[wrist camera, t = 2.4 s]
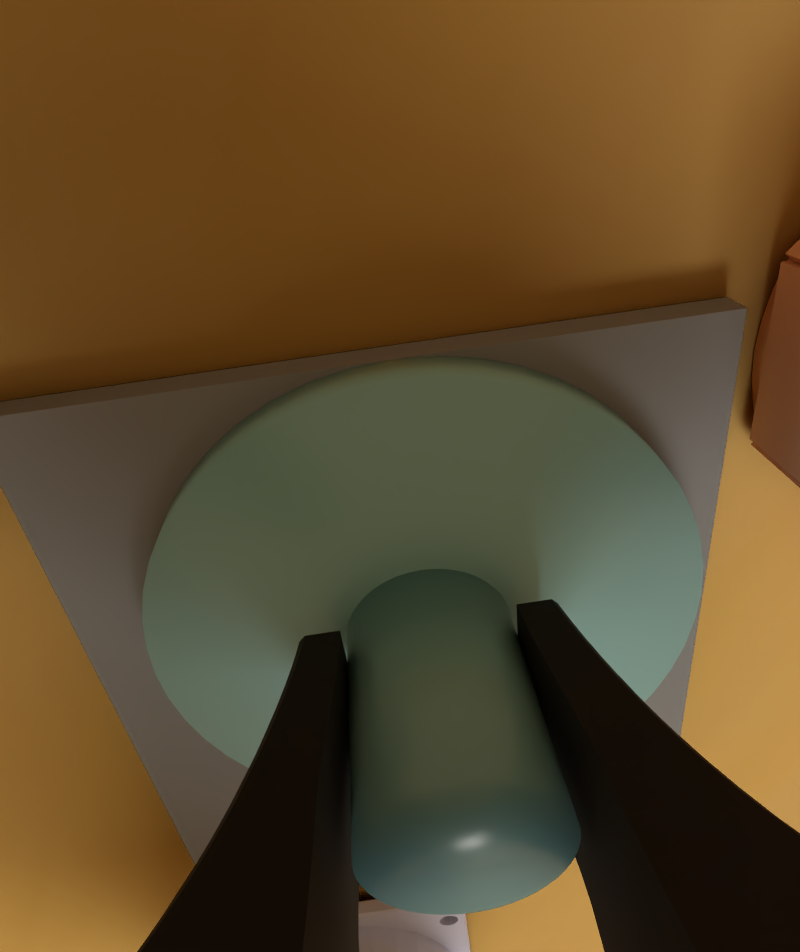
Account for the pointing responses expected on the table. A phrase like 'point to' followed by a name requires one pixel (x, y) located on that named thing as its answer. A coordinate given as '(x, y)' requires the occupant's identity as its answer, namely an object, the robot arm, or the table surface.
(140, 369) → the table surface
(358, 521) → the lid
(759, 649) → the table surface
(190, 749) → the mat
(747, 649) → the table surface
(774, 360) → the bowl
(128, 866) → the table surface
